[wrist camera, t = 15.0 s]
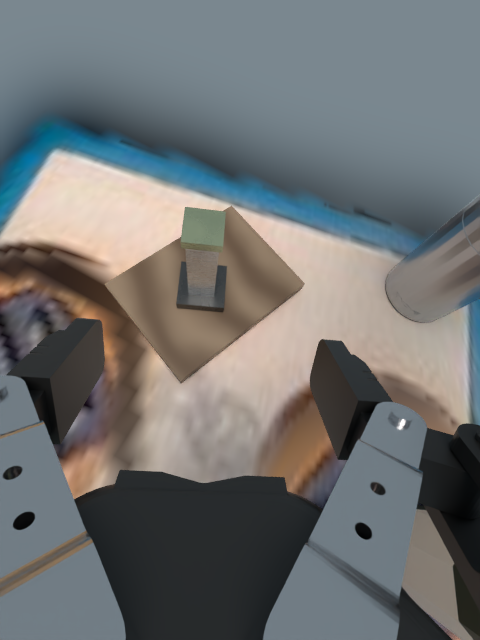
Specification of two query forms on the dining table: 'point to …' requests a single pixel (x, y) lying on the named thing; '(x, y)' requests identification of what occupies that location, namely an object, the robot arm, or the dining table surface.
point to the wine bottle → (438, 581)
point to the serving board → (195, 325)
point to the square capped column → (202, 261)
